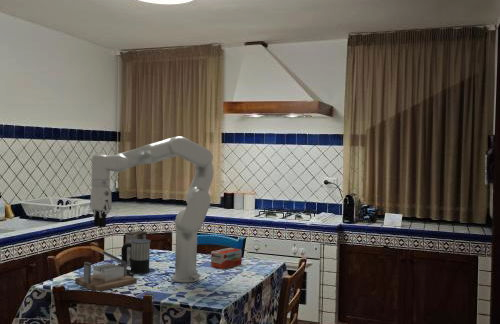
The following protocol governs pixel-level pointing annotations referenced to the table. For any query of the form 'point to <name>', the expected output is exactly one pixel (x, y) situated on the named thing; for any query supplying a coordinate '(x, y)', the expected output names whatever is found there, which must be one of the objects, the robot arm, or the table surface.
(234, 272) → the table surface
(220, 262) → the medicine box
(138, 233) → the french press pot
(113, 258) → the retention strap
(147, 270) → the milk frother
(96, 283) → the base board
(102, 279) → the heat sink
